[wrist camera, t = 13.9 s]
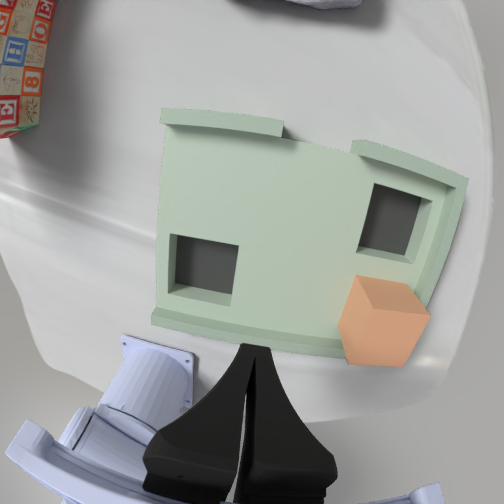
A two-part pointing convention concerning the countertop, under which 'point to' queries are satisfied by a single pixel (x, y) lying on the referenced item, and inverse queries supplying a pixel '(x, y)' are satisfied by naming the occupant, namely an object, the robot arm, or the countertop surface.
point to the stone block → (329, 3)
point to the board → (288, 229)
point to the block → (381, 322)
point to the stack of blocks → (22, 61)
